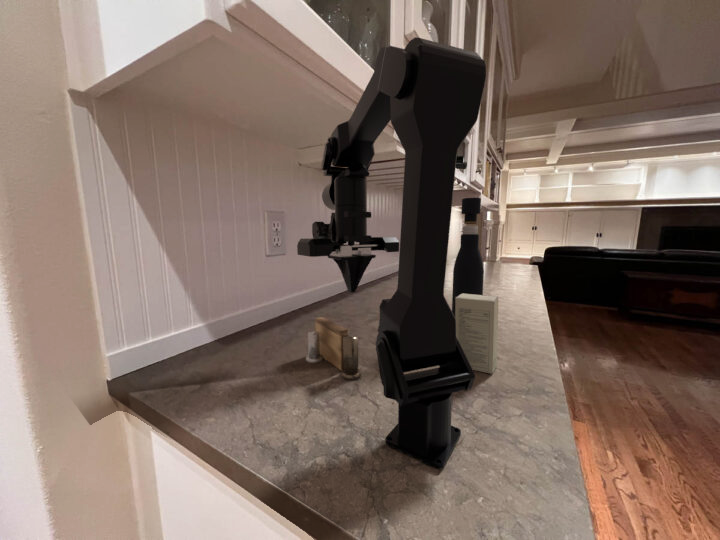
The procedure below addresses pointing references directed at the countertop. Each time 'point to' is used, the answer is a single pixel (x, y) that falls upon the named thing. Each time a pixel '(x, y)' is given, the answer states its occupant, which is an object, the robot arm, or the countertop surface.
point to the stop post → (314, 348)
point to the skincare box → (478, 330)
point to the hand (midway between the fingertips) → (351, 292)
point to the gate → (331, 341)
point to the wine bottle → (468, 255)
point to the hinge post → (350, 357)
